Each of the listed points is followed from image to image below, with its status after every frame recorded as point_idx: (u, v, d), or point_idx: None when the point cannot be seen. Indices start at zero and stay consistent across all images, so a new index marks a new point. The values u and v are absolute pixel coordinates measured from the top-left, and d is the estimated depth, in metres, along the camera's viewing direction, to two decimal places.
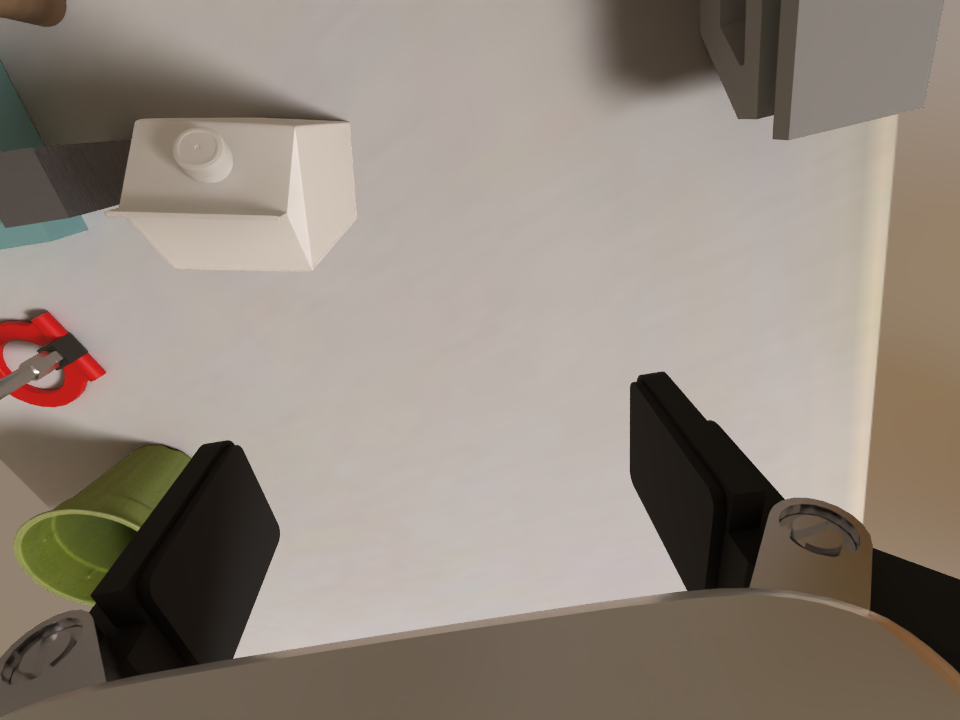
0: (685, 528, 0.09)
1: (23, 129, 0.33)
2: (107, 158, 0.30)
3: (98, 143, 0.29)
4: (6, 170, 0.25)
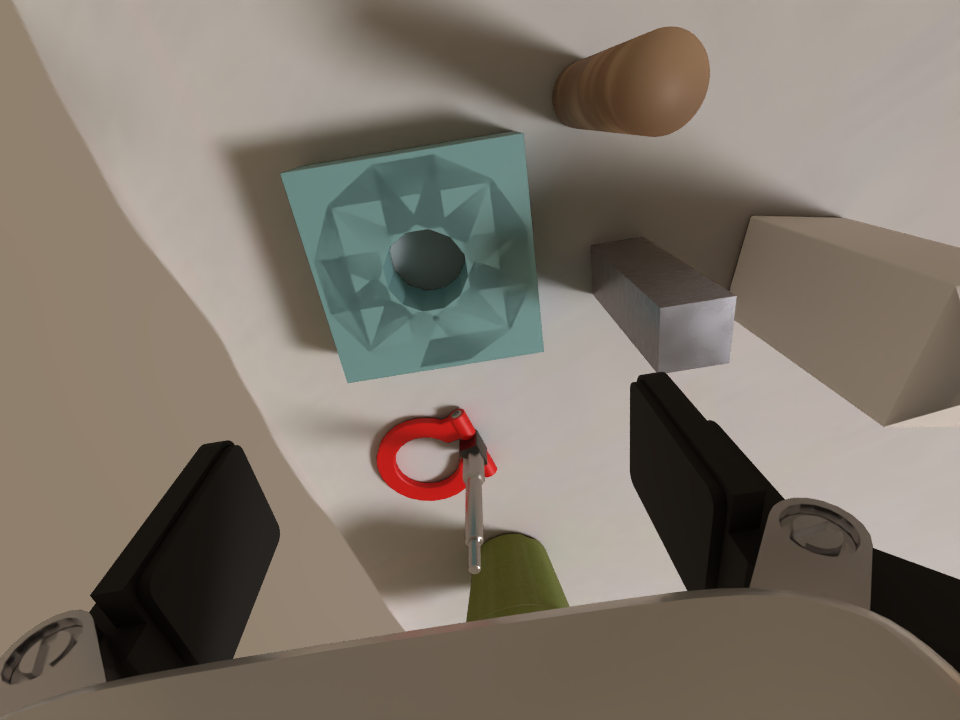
0: (684, 528, 0.09)
1: None
2: None
3: (685, 265, 0.27)
4: (696, 318, 0.23)
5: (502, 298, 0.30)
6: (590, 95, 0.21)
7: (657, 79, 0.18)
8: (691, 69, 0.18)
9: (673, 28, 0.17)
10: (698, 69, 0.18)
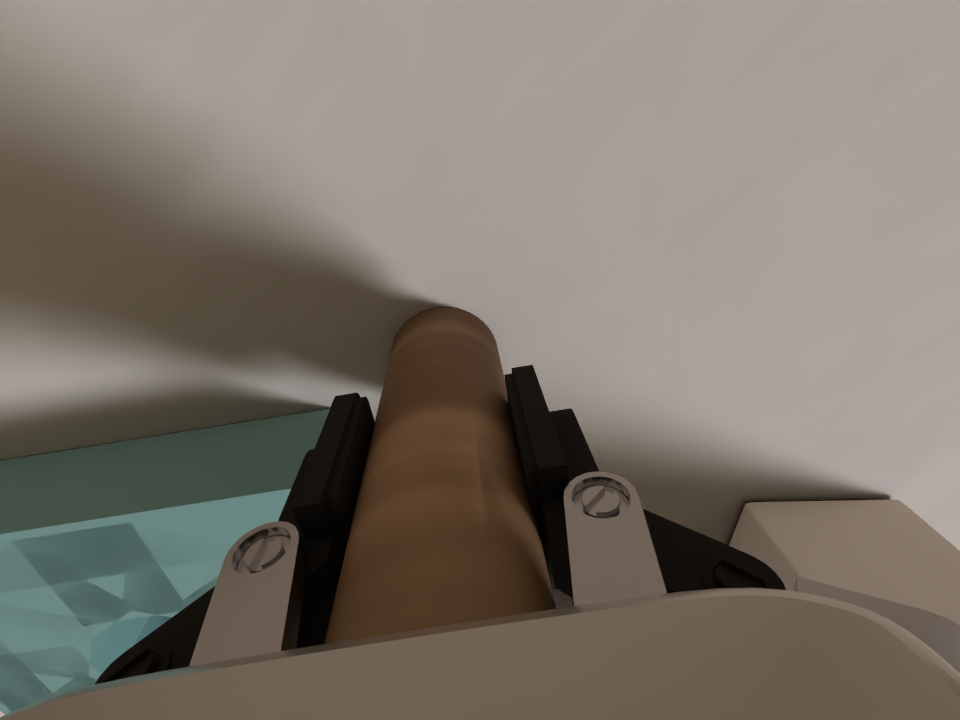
0: None
1: None
2: None
3: None
4: None
5: None
6: None
7: None
8: None
9: None
10: None
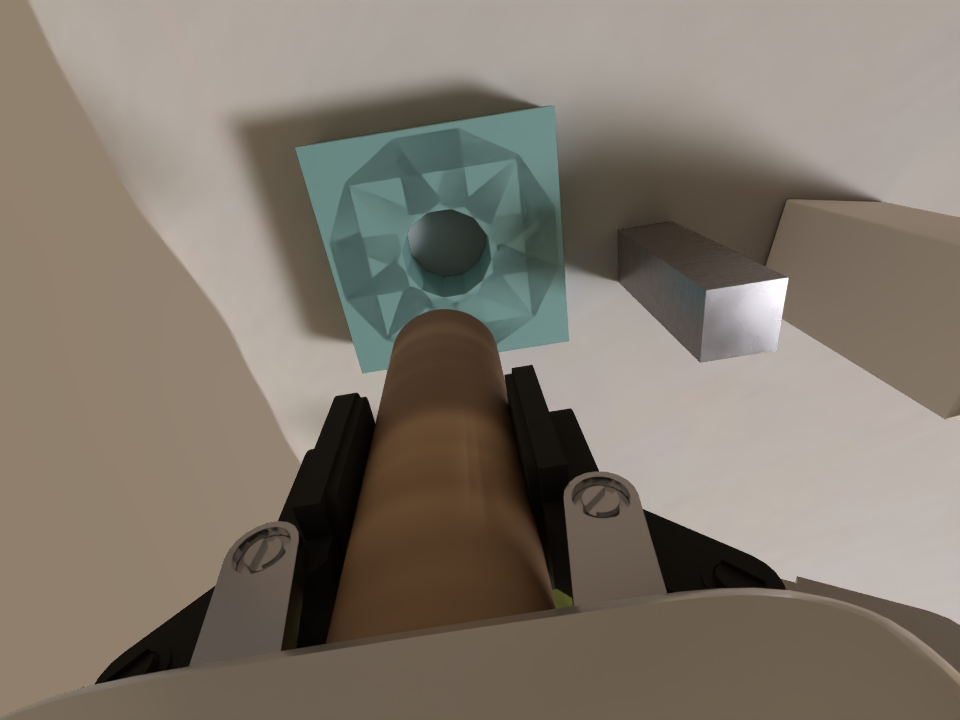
0: None
1: None
2: None
3: None
4: (743, 302, 0.21)
5: (527, 284, 0.28)
6: None
7: None
8: None
9: None
10: None
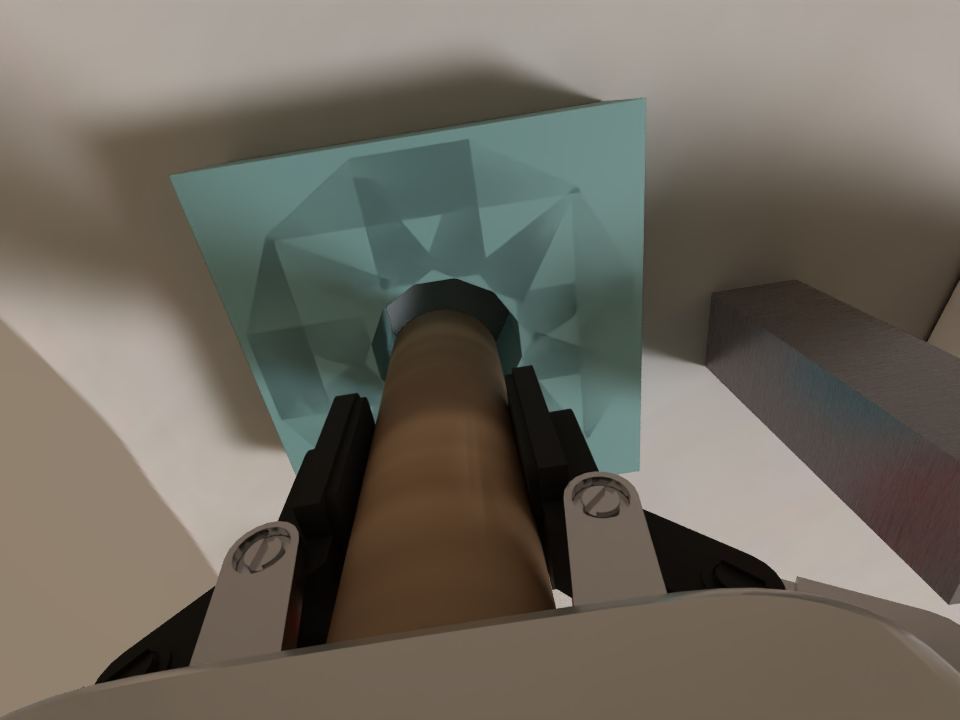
0: None
1: None
2: None
3: (940, 351, 0.14)
4: None
5: (578, 392, 0.17)
6: None
7: None
8: None
9: None
10: None
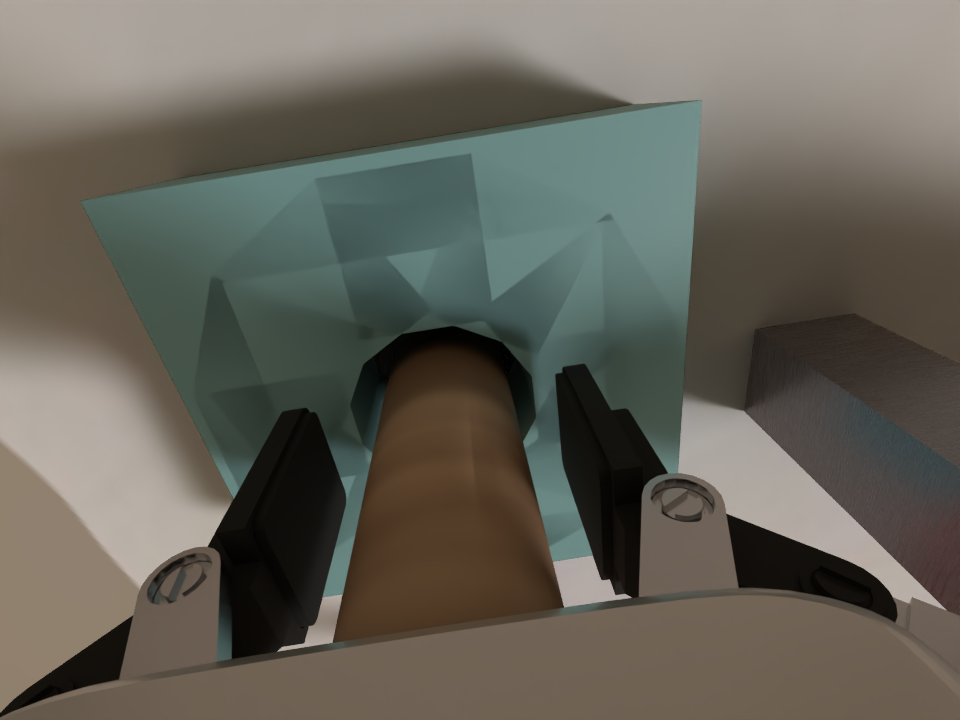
0: (589, 505, 0.10)
1: None
2: None
3: None
4: None
5: None
6: None
7: None
8: None
9: None
10: None
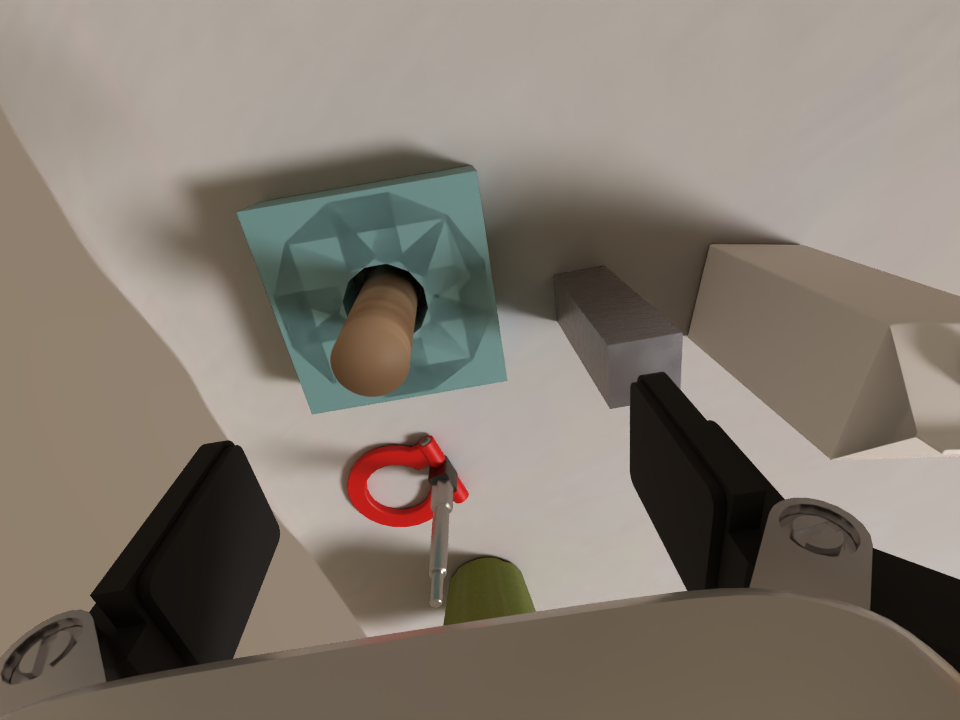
0: (685, 528, 0.09)
1: None
2: None
3: (640, 297, 0.27)
4: (644, 355, 0.23)
5: (463, 329, 0.30)
6: None
7: (365, 360, 0.22)
8: (391, 353, 0.22)
9: (368, 328, 0.21)
10: (397, 352, 0.22)
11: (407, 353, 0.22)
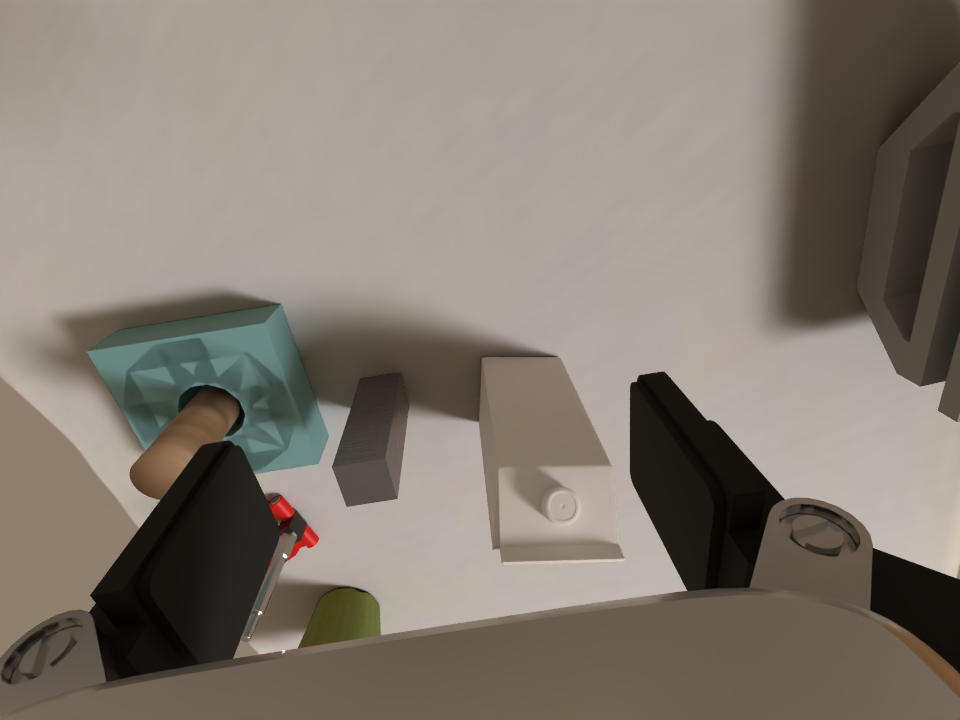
0: (684, 528, 0.09)
1: (301, 375, 0.40)
2: (395, 422, 0.37)
3: (393, 414, 0.36)
4: (361, 472, 0.32)
5: (276, 428, 0.39)
6: None
7: (155, 477, 0.31)
8: (173, 472, 0.31)
9: (153, 458, 0.30)
10: (178, 472, 0.31)
11: None
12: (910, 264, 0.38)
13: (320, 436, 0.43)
